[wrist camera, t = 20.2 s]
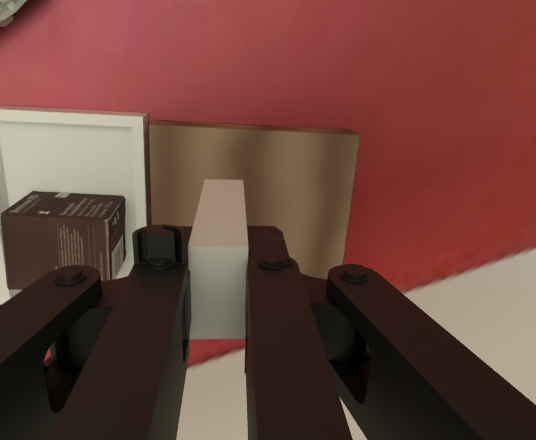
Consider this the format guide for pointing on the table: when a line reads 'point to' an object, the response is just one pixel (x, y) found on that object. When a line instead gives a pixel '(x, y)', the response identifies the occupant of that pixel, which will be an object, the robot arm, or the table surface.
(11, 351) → the robot arm
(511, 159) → the table surface
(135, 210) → the bin
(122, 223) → the box
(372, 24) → the table surface
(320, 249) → the wooden board
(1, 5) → the grey lobed frame
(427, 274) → the table surface
